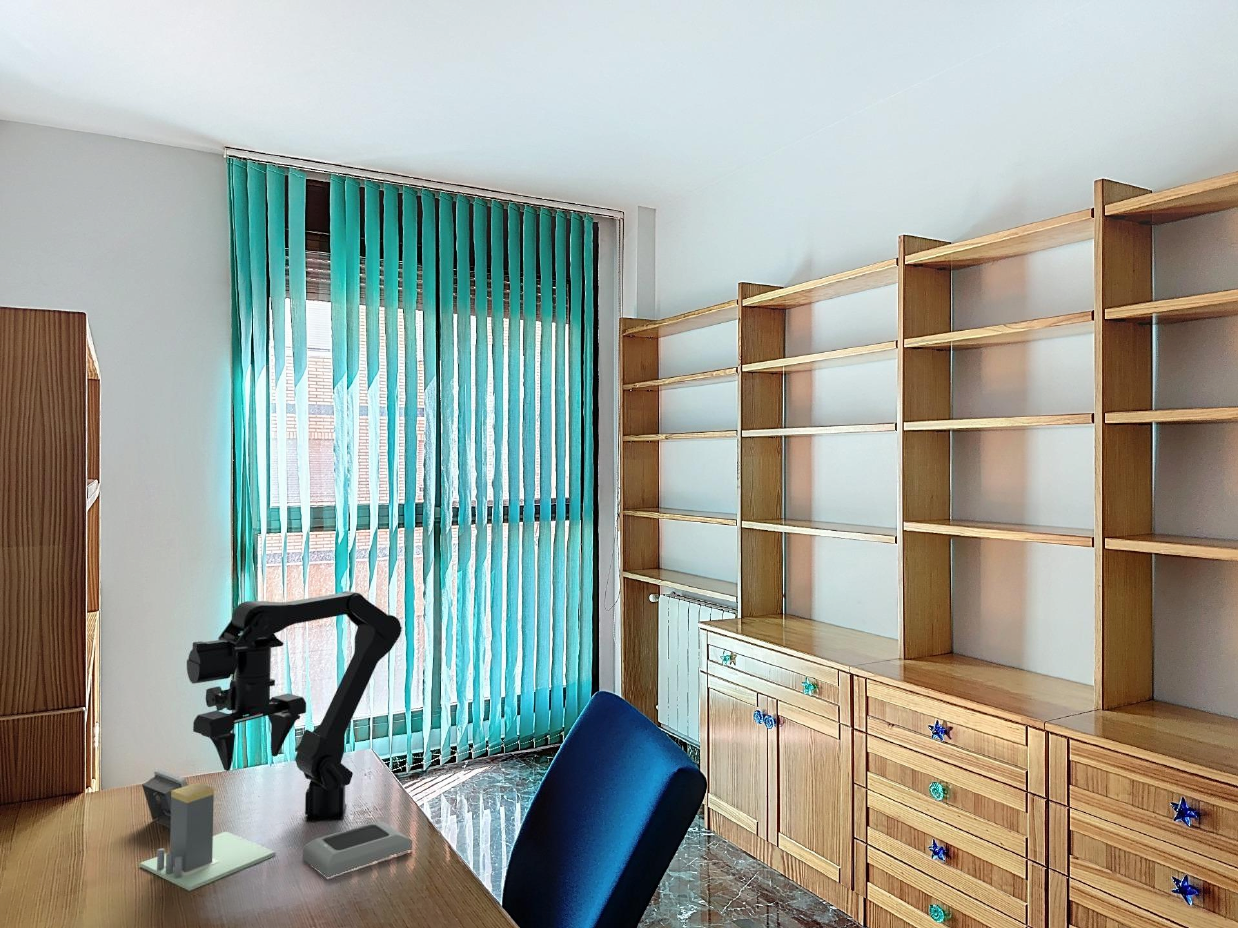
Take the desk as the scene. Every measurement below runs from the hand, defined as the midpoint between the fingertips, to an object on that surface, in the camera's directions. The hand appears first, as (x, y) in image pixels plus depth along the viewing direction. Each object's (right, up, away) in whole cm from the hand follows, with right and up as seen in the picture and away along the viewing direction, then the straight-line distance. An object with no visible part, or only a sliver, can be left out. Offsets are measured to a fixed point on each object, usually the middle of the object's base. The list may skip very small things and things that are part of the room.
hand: (251, 762), depth 153 cm
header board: (-3, -13, -9) cm, 16 cm away
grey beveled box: (+21, -14, -6) cm, 26 cm away
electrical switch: (-17, -13, +5) cm, 22 cm away
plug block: (-5, -12, -12) cm, 18 cm away
